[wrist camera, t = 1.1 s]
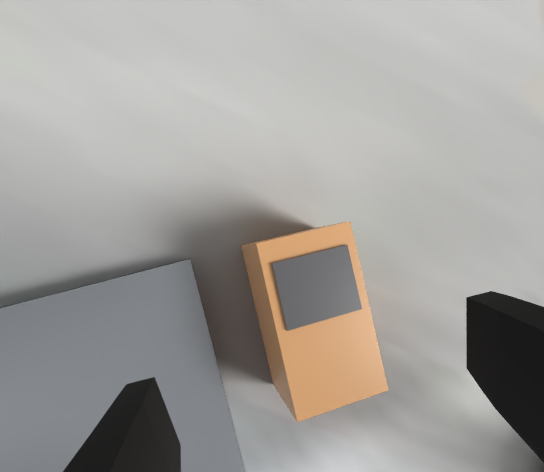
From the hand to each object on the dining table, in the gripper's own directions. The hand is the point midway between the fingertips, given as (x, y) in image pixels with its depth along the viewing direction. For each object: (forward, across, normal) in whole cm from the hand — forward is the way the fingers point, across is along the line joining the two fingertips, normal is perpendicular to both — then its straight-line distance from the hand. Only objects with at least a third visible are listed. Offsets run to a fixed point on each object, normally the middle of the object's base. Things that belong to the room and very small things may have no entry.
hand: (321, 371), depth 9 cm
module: (+12, -1, +6) cm, 13 cm away
